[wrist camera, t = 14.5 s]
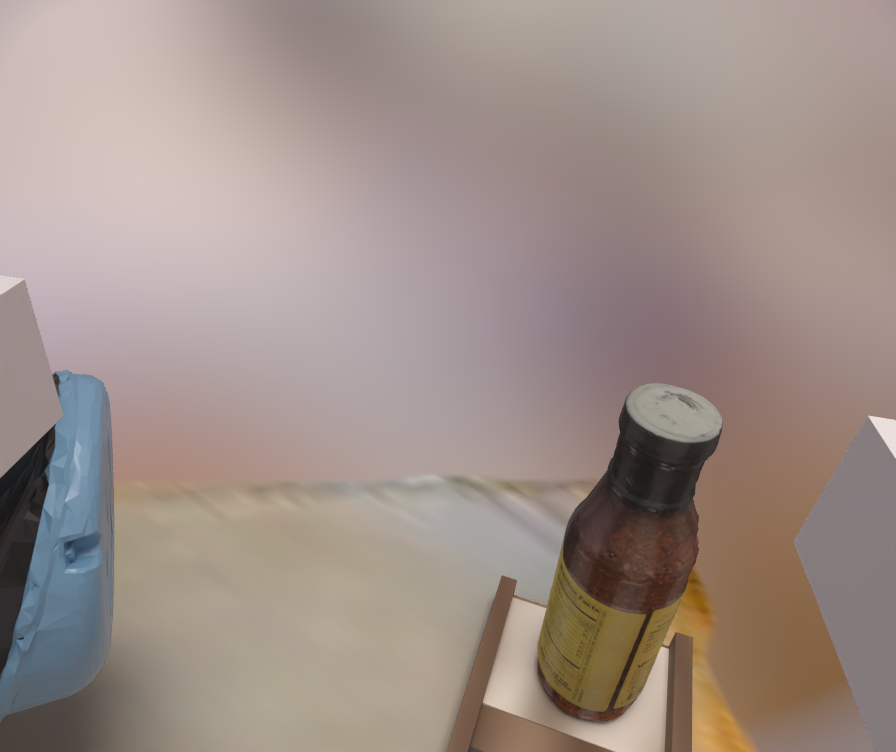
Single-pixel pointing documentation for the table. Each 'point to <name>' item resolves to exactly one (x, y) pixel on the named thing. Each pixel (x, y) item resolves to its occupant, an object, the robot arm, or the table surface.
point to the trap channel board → (540, 718)
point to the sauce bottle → (627, 555)
